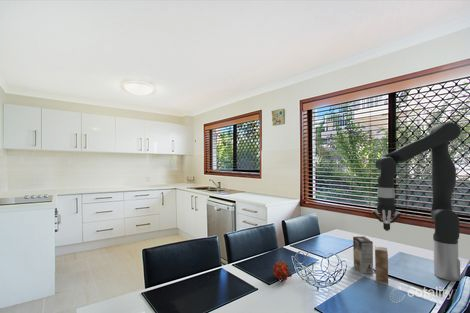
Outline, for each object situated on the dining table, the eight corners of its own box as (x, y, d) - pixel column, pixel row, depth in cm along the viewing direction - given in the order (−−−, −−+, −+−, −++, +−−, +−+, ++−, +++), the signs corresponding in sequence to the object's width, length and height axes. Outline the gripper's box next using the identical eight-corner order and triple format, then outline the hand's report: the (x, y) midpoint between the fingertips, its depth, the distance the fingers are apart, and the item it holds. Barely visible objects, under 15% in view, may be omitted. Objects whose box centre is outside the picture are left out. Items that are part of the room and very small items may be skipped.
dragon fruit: (279, 275, 127) (286, 290, 115) (266, 266, 126) (271, 281, 114) (289, 262, 126) (297, 276, 114) (276, 254, 125) (282, 267, 113)
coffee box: (353, 265, 134) (352, 236, 134) (364, 265, 134) (364, 236, 134) (361, 273, 124) (360, 241, 125) (374, 273, 124) (373, 241, 125)
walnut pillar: (387, 279, 118) (387, 247, 119) (388, 283, 114) (387, 251, 114) (375, 276, 121) (374, 246, 121) (376, 281, 116) (375, 249, 117)
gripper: (400, 196, 125) (401, 230, 124) (371, 194, 131) (371, 227, 131) (402, 198, 118) (403, 234, 118) (371, 196, 124) (371, 230, 124)
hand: (386, 230), depth 124 cm, fingers closed
